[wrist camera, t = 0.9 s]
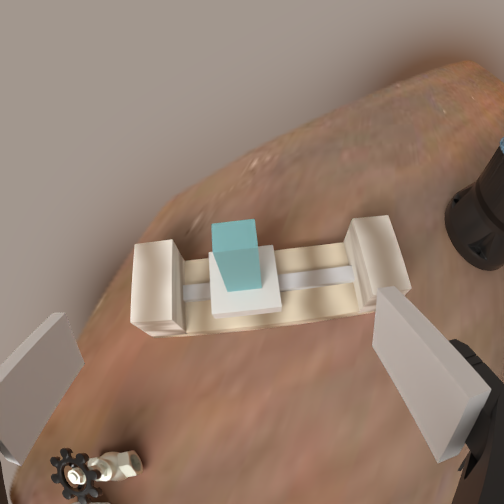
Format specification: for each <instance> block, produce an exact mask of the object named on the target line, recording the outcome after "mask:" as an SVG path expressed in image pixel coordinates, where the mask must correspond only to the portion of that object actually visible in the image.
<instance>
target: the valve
mask: <svg viewBox="0 0 504 504" xmlns="http://www.w3.org/2000/svg"><path fill="white" fill-rule="evenodd" d="M60 453H61V456H62V457H63V459H62V460H61V461H60V457H52V458H51V459H50V462H51V464H52V465H53V466H54V467H56V468H57V474H52V475H51V479H52V481H53V482H54V483H61V484H62V485H63V487H64V490H63V492H62V494H63V496H64V497H65V498H66V499H71V498H74V497H75V496H74V495H76V496H77V497H78V501H79V503H80V504H90V503H91V499H88V498H87V494H90V495H91V496H92V497H94V498H96V497H99V496H101V495H102V490H101V489H100V488H96V487H94V480H96V481H108V480H112V481H122V480H124V479H126V478H127V477H131V476H136V475H139V474H141V473H143V466H142V462H141V460H140V458H139V456H138V455H137V453H136V452H135V451H134V450H132V451H127V452H123V453H119V452H107V453H105V454H103V455H102V456H101V457H96V458H91V459H89V456H88V455H87V454H86V453H79V454H77V455H76V458H72V456H71V453H73V452H72V450H71V449H70V448H62V449H61V451H60ZM87 461H88V466H86V465H85V463H86V462H87ZM67 465H69V466H71V467H72V468H73V469H72V470H69V471H68V478H69V480H70V481H71V482H72V483H73V484H78V487H77V488H73V487H71V486H70V485H69V484H68V482H67V481H66V478H65V475H64V468H65V466H67ZM78 466H79V467H78ZM85 483H87V484H86V488H85V489H84V490H83V488H84V484H85ZM82 490H83V491H82Z"/></svg>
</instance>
